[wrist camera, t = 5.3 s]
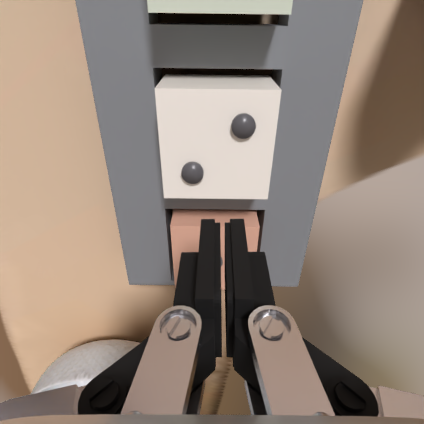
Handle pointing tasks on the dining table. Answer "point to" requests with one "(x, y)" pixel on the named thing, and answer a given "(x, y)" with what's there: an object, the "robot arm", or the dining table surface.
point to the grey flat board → (218, 59)
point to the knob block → (221, 6)
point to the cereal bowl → (83, 364)
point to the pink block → (190, 232)
